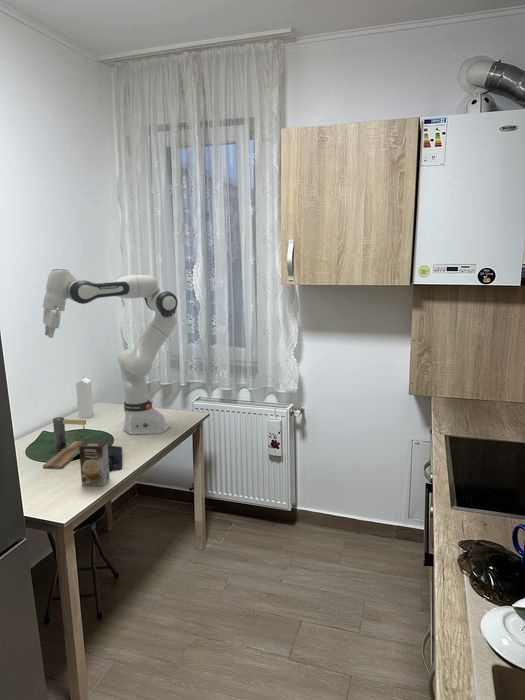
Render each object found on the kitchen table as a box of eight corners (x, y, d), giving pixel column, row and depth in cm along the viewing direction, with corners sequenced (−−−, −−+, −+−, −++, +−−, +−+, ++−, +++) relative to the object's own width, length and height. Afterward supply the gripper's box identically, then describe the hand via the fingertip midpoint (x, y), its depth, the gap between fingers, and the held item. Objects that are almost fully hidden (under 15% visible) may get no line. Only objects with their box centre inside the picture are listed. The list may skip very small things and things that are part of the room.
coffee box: (80, 486, 187) (77, 446, 184) (87, 478, 194) (84, 439, 190) (104, 486, 187) (101, 446, 184) (110, 478, 193) (107, 440, 190)
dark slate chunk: (127, 450, 221) (127, 440, 220) (121, 472, 200) (120, 461, 199) (92, 452, 219) (91, 442, 218) (81, 474, 198) (80, 463, 197)
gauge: (89, 447, 224) (87, 418, 221) (85, 451, 219) (82, 421, 216) (58, 446, 225) (56, 416, 222) (53, 450, 220) (50, 420, 218)
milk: (78, 417, 262) (75, 377, 258) (82, 414, 268) (79, 374, 264) (90, 417, 262) (86, 377, 258) (93, 413, 268) (90, 374, 264)
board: (89, 444, 227) (89, 441, 227) (61, 468, 202) (61, 465, 202) (73, 443, 228) (72, 440, 228) (43, 468, 203) (42, 465, 202)
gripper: (66, 308, 209) (60, 340, 209) (57, 305, 226) (52, 335, 227) (50, 305, 205) (44, 337, 206) (43, 302, 223) (37, 333, 223)
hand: (48, 336), depth 216 cm, fingers open, 8 cm apart
